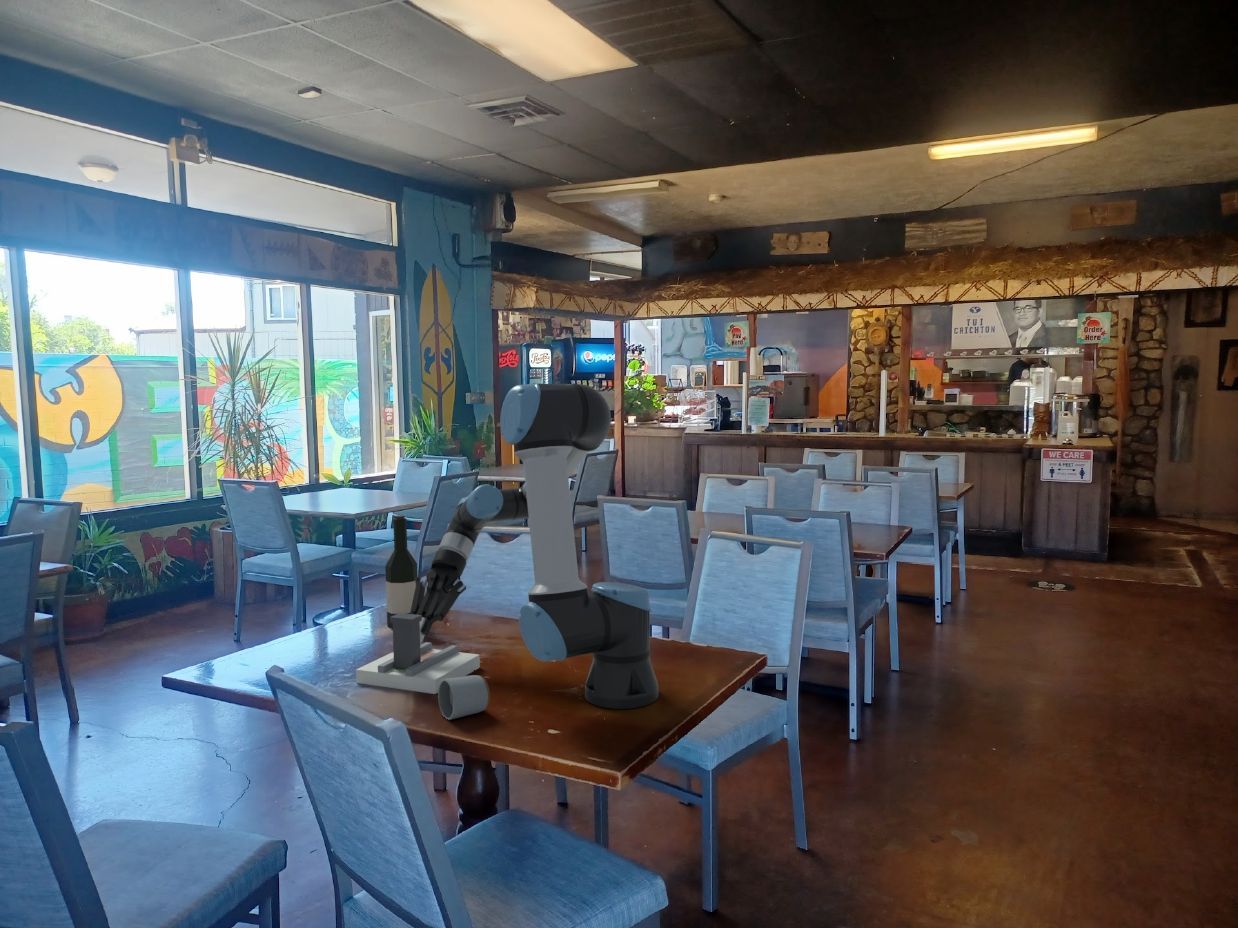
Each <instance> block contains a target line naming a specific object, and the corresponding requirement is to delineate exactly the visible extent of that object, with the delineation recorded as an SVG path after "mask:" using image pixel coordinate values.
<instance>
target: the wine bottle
mask: <svg viewBox="0 0 1238 928" xmlns="http://www.w3.org/2000/svg"><path fill="white" fill-rule="evenodd" d="M392 521H393V523H392V524H393V544H394V545H393V546H394V547H393V549H394V550H393V551H392V552H391V555H390V557H389V559H388V560H387V562H386V564H385V594H386V596H385V597H386V624H387V625H386V626H388V628H389V627H390V629H391V628H392V630H393V623H390V617H391V616H394V615H396V614H399V613H405V614H411V612H410V611H411V607H412V602H413V597H414V592H415V588H416V583H415V578H416V577H419V576H418V563H417V561H416V559H415V558H414V557H413V555H412V553H411V552H410V551H409V549H408V527H407V526H408V524H407V521H408V520H407V518H406V517H405V514H402V515H401V514H399V515H394V518H393V520H392Z"/></svg>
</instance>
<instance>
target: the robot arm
mask: <svg viewBox="0 0 1238 928" xmlns="http://www.w3.org/2000/svg"><path fill="white" fill-rule="evenodd" d="M611 414H612V413H611V410H610V407H609V404H608V402H607V400H606V398H605V397H604V396H603V395H602V393H600V392H599V391H598V390H596V389H595V388H594V387H592V386H589V385H586V384H582V383H572V384H571V383H569V384H568V383H536V382H535V383H529V384H528V383H527V384H526V383H525V384H518V385H515V386H513V387H512V388H511V389H510V390H509V391H508V392H507V394H506V396H505V398H504V400H503V402H502V407H501V411H500V416H499V417H500V419H499V421H500V423H499V424H500V425H499V426H500V433H501V436H502V439H503V440H504V442H505V443H506V444H509V445H511V446H513V449H514V451H513V452H514V455H515V456H516V457H517V458H518V459H519V460H521V462H522V464H523V472H524V473H523V474H524V483H522V485H521V487H516V488H503V489H501V488H500V489H498V488H497V487H496V486H494V485H492V484H488V483H486V484H481V485H479V486H477V487H475V489H474V490H472V491H471V492H470V493H469V494H468V495H467V497H463V498H461V499H460V500H459V502H458V504H457V506H456V507H455V508H454V510H453V511H454V513H453V515H452V517H451V519H450V523H449V524H448V527H447V529H446V531H445V534H444V535H443V536H442V539H441V542H440V543H439V545H438V547H437V551H436V553H435V555H434V557H433V559H432V562H431V568H430V569H429V570H428V572H426V575H425V576H422V577H420V576H418V577H416V578H415V583H416V588H415V592H414V597H413V602H412V607H411V611H410V612H411V614H415V615H422V621H420V646H421V644H423V641H424V638H425V636H428V634H429V633H430V632H431V628H432V627H433V624H434V623H435V622H442V621H443V620H445V618H446V615H448V613H449V612H450V610H451V608H452V607H453V605H454V604H455V603H456V602H457V599H458V598H459V597H460V595H461V594H462V593H463V592H465V591H466V590H467V586H466V585H465V583H464V582H463V581H462V580H461V576H462V575H463V573H464V570H465V568H466V566H467V563H468V561H469V559H470V556H471V554H472V551H473V549H474V546H475V544H476V542H477V539H478V537H479V535H480V532H481V531H482V530H483V529H484V528H485V527H486V526H487V525H488V523H493V522H494V523H495V522H504V521H514V520H516V521H517V520H524V519H525V520H527V519H528V524H529V533H530V535H529V536H530V545H531V555H532V565H533V576H534V583H533V585H532V587H531V588H530V589H529V591H528V592H527V593H528V602H526V603H524V604H523V605H521V607H520V609H519V613H520V614H519V615H518V621H519V622H518V623H519V630H520V633H521V637H522V640H523V642H524V644H525V646H526V648H527V649H528V651H529V654H531V655H532V656H533V657H534V658H535V659H537V661H541V662H543V663H544V662H545V663H546V662H554V661H560V662H561V661H564V660H566V659H570V658H575V657H580V656H585V655H590V654H592V662H591V664H590V668H589V671H588V676H587V678H586V681H585V683H584V684H585V685H584V698H585V699H586V701H587V702H589V703H590V704H592V705H594V706H596V707H601V708H606V709H613V710H614V709H615V710H625V709H626V710H628V709H636V708H641V707H645V706H648V705H650V704H653V703H654V702H655V701H657V700H658V698H659V683H658V680H657V677H656V674H655V671H654V668H653V665H652V662H651V655H650V653H651V652H650V648H651V645H650V643H651V641H650V640H651V639H650V612H651V605H650V597H649V593H648V591H647V590H646V589H645V588H643V587H641V586H638V585H634V584H629V583H623V582H611V581H607V582H606V581H605V582H604V581H602V582H596V583H594V584H592V588H591V590H590V591H591V593H589V592H588V590H589V589H588V585H587V584H586V583H584V582H583V581H581V579H580V578H579V571H578V570H579V569H578V562H577V560H578V559H577V549H576V548H577V547H576V539H575V530H574V528H575V527H574V522H573V521H574V519H573V509H572V501H571V490H570V480H569V477H571V475H572V474H573V473H574V471H575V470H576V468H577V467H578V466H579V465H580V464H581V463H582V461H583V460H584V458H585V457H586V456H587V455H588V453H590V452H594V451H595V450H597V449H598V448H599V447H600V446H601V445H602V444H603V442H604V441H605V439H606V438H607V436H608V435H609V431H610V428H611V424H612V423H611V422H612V416H611Z"/></svg>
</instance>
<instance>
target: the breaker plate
mask: <svg viewBox="0 0 1238 928" xmlns="http://www.w3.org/2000/svg"><path fill="white" fill-rule="evenodd" d="M432 645H433V644H432V642H428V641H426V642H424V643H423V642H422V643H421V646H420V655H421V661H420V662H419V663H417V664H415V665H413V666H411V667H409V668H407V669H401V668H394V652H390V653H388V654H386V655H384V656H382V657H380V658H378V659H376V660H373V661H371V662H369V663H367V664H365V665H362V666H361V667H358V668H357V669H355V672H356V674H355V676H356V677H355V678H356V679H355V680H356V684H362V685H368V686H373V687H375V686H376V687H383V688H389V689H398V690H404V691H411V692H419V693H425V694H432V695H436V694H438V689H439V685H440V683H441V681H442V680H443V679H448V678H456V677H465V676H469V674H472V673H473V672H475V671H477V670H478V669H480V668H481V664H480V663H481V661H480V654H478V653H470V652H469V653H468V652H460V651H459V648H458V647H459V646H458V645H454V644H450V646H447V647H446V648H444V649H435V648H432V647H433V646H432ZM474 670H475V671H474Z"/></svg>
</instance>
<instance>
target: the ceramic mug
mask: <svg viewBox="0 0 1238 928" xmlns="http://www.w3.org/2000/svg"><path fill="white" fill-rule="evenodd" d="M490 695H491V694H490V689H489V685H488V682H487V681H486V679H485V678H484V677H483V676H482V675H473V674H472V675H466V676H465V677H456V678H448V679H443V680H442V681H441V683H440V685H439V689H438V693H437V699H438V706H439V710H440V712H441V715H442V716H443V718H444V717H445V718H446V720H447V719H448V721H451V720H455V719H459V718H463V717H466V716H469V715H470V716H471V715H474V714H479V713H481V712H483V711H485V710H486V709H487V708H488V706H489V703H490V698H491V697H490Z"/></svg>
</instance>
